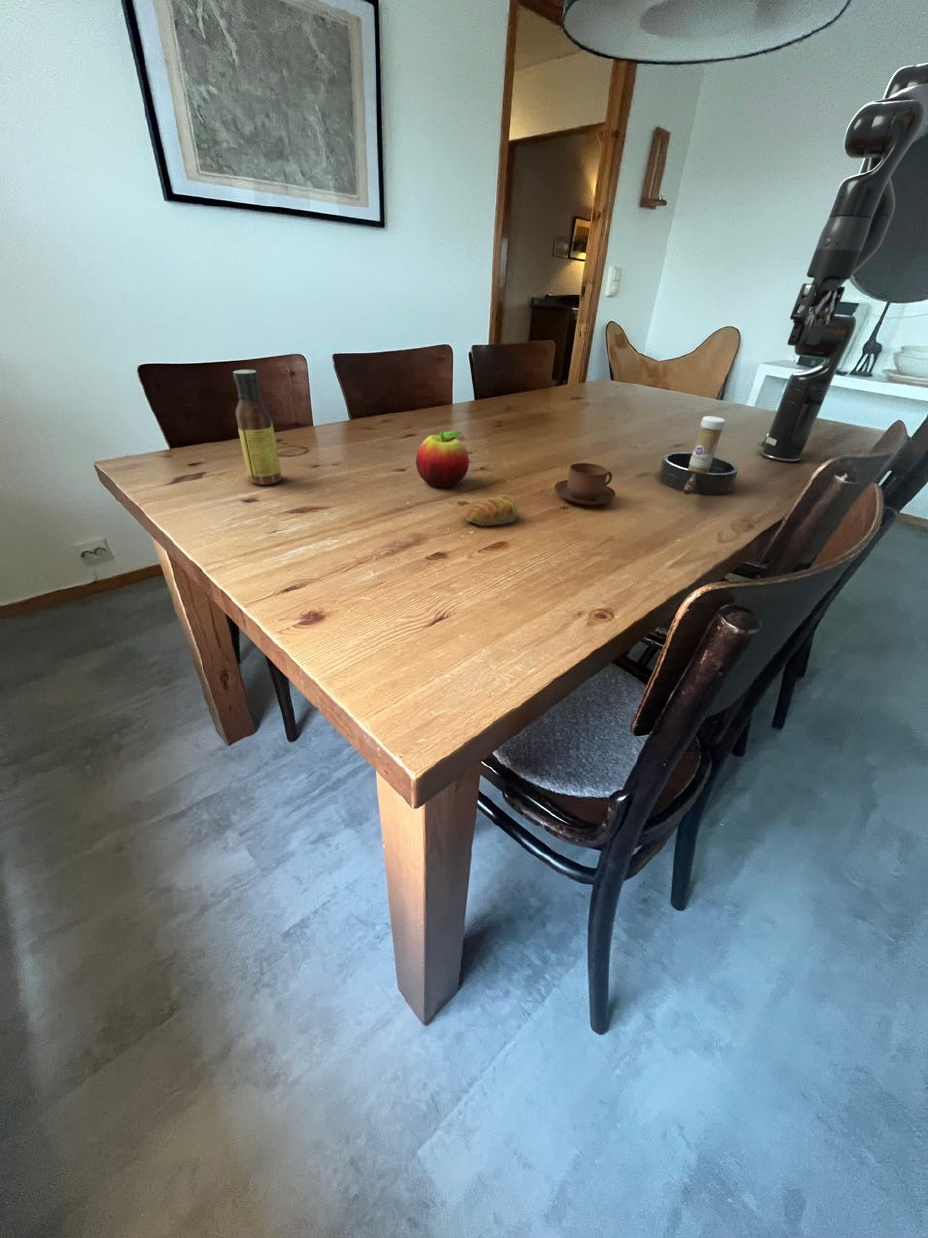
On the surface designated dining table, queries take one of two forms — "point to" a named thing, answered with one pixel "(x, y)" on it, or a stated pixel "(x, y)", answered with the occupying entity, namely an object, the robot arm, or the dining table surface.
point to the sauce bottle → (256, 431)
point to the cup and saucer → (586, 485)
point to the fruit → (442, 460)
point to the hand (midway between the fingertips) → (802, 344)
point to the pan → (708, 483)
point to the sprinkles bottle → (706, 443)
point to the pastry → (493, 511)
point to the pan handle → (690, 484)
